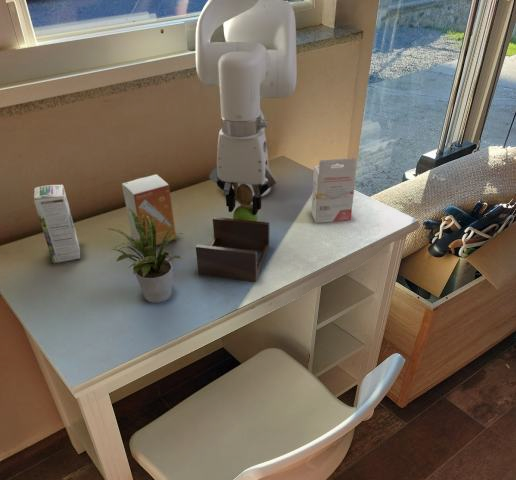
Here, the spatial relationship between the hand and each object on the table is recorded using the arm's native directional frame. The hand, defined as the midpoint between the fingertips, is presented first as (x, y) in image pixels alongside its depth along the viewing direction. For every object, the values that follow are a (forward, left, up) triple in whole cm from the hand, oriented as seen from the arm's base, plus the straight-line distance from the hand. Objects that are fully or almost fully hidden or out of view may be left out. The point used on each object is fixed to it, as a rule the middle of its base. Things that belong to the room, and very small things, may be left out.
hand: (244, 209), depth 112 cm
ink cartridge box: (-11, +18, -6) cm, 22 cm away
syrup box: (+17, -35, -6) cm, 39 cm away
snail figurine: (0, 0, -5) cm, 5 cm away
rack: (+12, +1, -6) cm, 13 cm away
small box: (+7, -19, -6) cm, 21 cm away
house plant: (+26, -12, -6) cm, 29 cm away
